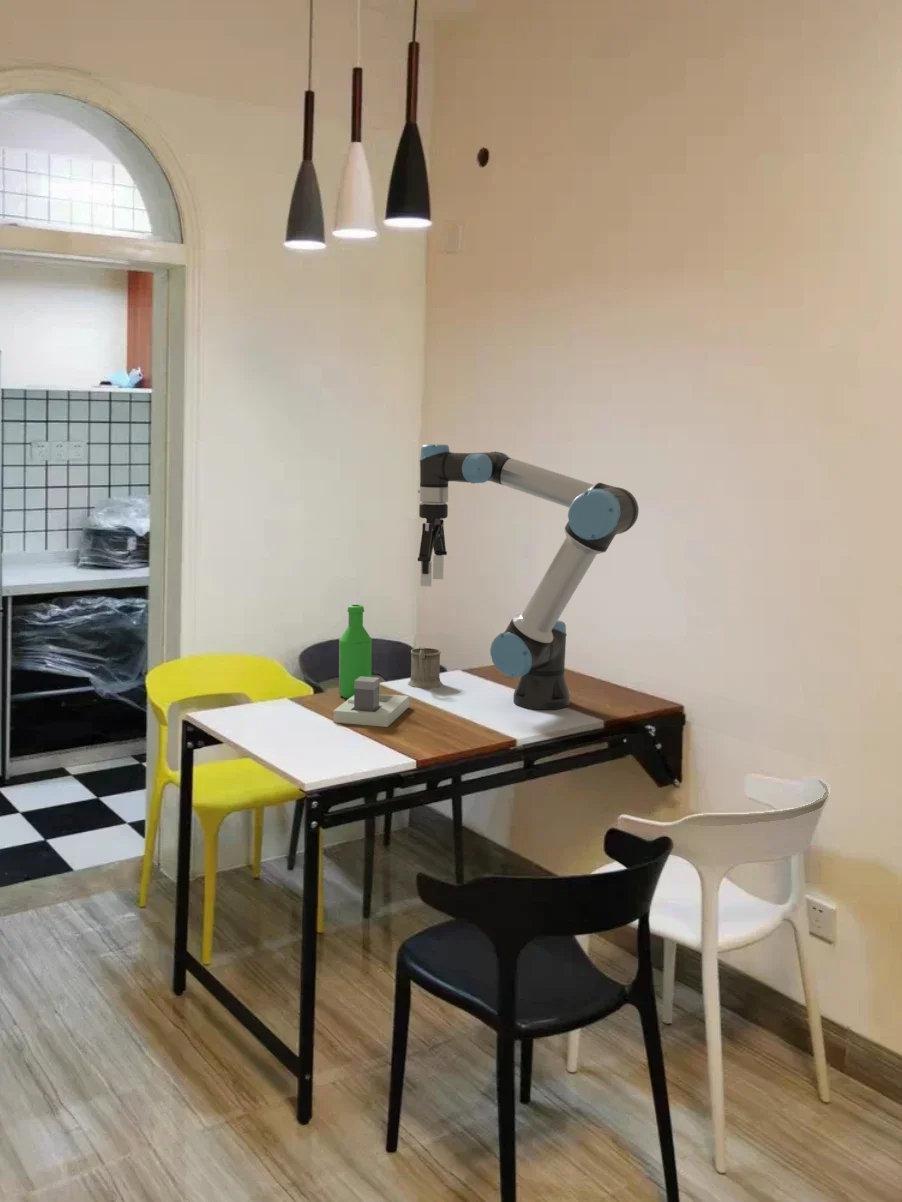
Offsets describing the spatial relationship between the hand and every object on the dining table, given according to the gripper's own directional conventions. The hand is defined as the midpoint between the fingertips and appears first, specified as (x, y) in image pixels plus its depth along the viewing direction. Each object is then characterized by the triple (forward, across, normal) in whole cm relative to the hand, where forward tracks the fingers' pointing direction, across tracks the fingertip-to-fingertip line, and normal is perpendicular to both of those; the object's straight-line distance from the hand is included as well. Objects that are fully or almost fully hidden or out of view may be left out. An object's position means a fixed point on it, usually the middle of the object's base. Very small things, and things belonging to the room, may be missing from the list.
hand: (432, 582), depth 302 cm
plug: (+31, +26, -10) cm, 42 cm away
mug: (+32, -13, -5) cm, 35 cm away
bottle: (+32, +4, -20) cm, 38 cm away
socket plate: (+32, +21, -10) cm, 39 cm away
